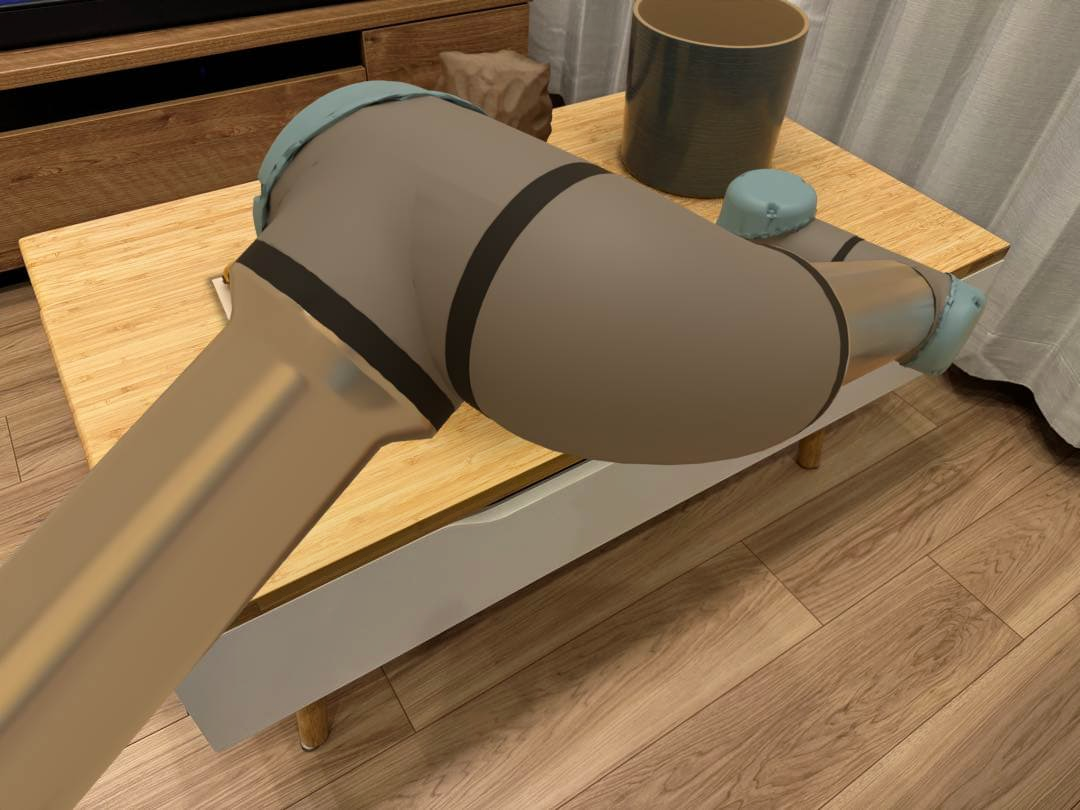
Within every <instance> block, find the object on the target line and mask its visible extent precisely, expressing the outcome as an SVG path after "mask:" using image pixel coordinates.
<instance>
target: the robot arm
mask: <svg viewBox="0 0 1080 810" xmlns="http://www.w3.org/2000/svg"><path fill="white" fill-rule="evenodd" d="M257 180H258V181H259V184H260V194H259V195H254V197H253V200H252V201H253V202H252V213H251V214H252V219H253V224H254V230H255V235H256V238H255V239H254V241H252V242H251V244H250V245H249V246H248V247H247V248H246V249H245V250H244V251H243V252H242V253H241V254H240V255H239V256H238V258H236V260H234V261H232V262H233V264H232V265H231V266H230V267H229V277H230V290H231V303H232V311H231V315H230V319H228V323H227V324H226V325H225V326H224V327H223V328H222V329H221V330H220V331H219V332H218V333H217V335H216V336H215V337H214V338H213V339H212V340H211V341H210V342H209V343H208V344H207V345H206V346H205V347H204V348H203V349H202V350H201V352H200V353H199V354H198V355H197V356H196V357H195V358H193V360H192V361H191V362H190V363H189V364H188V366H187V367H185V369H184V370H183V371H182V372H181V373H180V374H179V375H178V376H177V377H176V378H175V380H173V381H172V383H171V384H170V385H169V386H168V387H167V388H166V389H165V390H164V391H163V392H162V393H161V394H160V395H159V396H158V397H157V398H156V400H155V401H154V402H153V403H152V404H151V405H150V406H149V407H148V408H147V410H146V411H144V412H143V414H142V415H141V416H140V417H139V418H138V419H137V420H136V421H135V422H134V423H133V424H132V425H131V427H129V429H128V430H126V432H125V433H124V434H123V435H122V436H121V437H120V438H119V439H118V440H117V441H116V443H114V445H112V447H111V448H110V449H109V450H107V452H106V453H105V454H104V455H103V456H102V458H100V460H99V461H97V463H96V464H94V466H93V467H92V468H91V469H90V470H89V471H88V472H87V473H86V474H85V476H84V477H83V478H82V479H81V480H80V481H79V482H78V483H77V484H76V485H75V486H74V487H73V489H71V491H70V492H69V493H67V495H66V496H65V497H64V498H63V499H62V500H61V501H60V502H59V503H58V504H57V505H56V506H55V508H53V510H52V511H51V512H50V513H49V514H48V515H47V516H46V517H45V518H44V520H43V521H42V522H40V524H39V525H38V526H37V527H36V528H35V529H34V530H33V531H32V532H31V533H30V534H29V535H28V537H27V538H26V539H25V540H24V541H23V542H22V543H21V544H20V545H19V546H18V547H17V549H15V551H14V552H12V554H10V556H9V557H8V558H7V559H6V560H5V561H4V562H3V563H2V564H1V565H0V810H74V809H75V808H76V807H77V806H78V804H79V803H80V802H81V801H82V800H83V799H84V797H85V796H86V795H87V794H88V793H89V791H90V790H91V789H92V788H93V787H94V785H95V784H96V783H97V782H98V781H99V779H100V778H101V777H102V776H103V775H104V774H105V773H106V771H107V770H108V769H109V768H110V767H111V765H112V764H113V763H114V762H115V760H116V759H117V758H118V757H119V756H120V755H121V754H122V752H123V751H124V750H125V749H126V748H127V747H128V745H129V744H130V743H131V742H132V741H133V740H134V739H135V737H136V736H137V735H138V734H139V732H140V731H141V730H142V729H143V728H144V727H145V726H146V724H147V723H148V722H149V721H150V720H151V719H152V718H153V716H154V715H155V714H156V712H157V711H158V710H159V709H160V708H161V706H163V704H164V703H165V702H166V701H167V700H168V698H169V697H170V696H171V695H172V694H173V693H174V691H175V690H176V689H178V687H179V686H180V685H181V684H182V682H183V681H184V680H185V678H186V677H187V676H188V675H189V674H190V673H191V671H193V669H195V667H196V666H197V664H198V663H199V662H200V661H201V660H202V659H203V657H204V656H205V655H206V654H207V653H208V651H210V649H211V648H212V647H213V646H214V645H215V643H216V642H217V641H218V640H219V638H221V636H222V635H223V634H224V633H225V632H226V630H227V629H228V628H229V627H230V626H231V625H232V623H233V622H234V621H235V620H236V619H237V618H238V616H239V615H240V614H241V613H242V612H243V610H245V608H246V607H247V606H248V605H249V603H250V602H251V601H252V600H253V599H254V597H255V596H256V595H257V594H258V593H259V592H260V591H261V589H262V588H263V587H264V586H265V585H266V584H267V582H268V581H269V580H270V579H271V578H272V576H274V574H275V573H276V572H277V571H278V569H280V567H281V566H282V565H283V563H284V562H285V561H286V560H287V559H288V558H289V556H290V555H291V554H292V553H293V552H294V551H295V549H296V548H297V547H298V546H299V545H300V544H301V543H302V541H303V540H304V539H305V538H306V537H307V536H308V534H310V532H311V531H312V530H313V528H314V527H315V526H317V524H318V523H319V521H320V520H321V519H323V516H324V515H325V514H326V513H327V512H328V511H329V509H331V507H332V506H333V505H334V504H335V503H336V502H337V500H338V499H339V498H340V497H341V495H342V494H343V493H344V492H345V491H346V490H347V488H348V487H349V486H350V485H351V484H352V483H353V482H354V480H355V479H356V478H357V476H359V474H360V473H362V471H363V470H364V469H365V468H366V466H367V465H368V464H369V463H370V461H372V459H373V458H374V457H375V456H376V455H377V453H378V452H379V451H380V450H381V449H382V448H383V447H385V446H388V445H390V444H392V443H403V442H413V441H421V440H422V441H423V440H431V439H433V438H434V437H435V436H436V435H437V434H438V432H439V431H440V430H441V428H443V426H444V425H445V424H446V423H447V421H448V420H449V419H450V418H451V416H453V414H454V413H455V412H456V411H457V410H458V409H459V408H460V407H461V405H463V403H465V404H467V405H469V406H470V407H471V408H473V409H474V410H476V411H477V412H479V413H480V414H481V415H483V416H485V417H486V418H487V419H490V420H491V421H493V422H494V423H496V424H497V425H498V426H499V427H501V428H502V429H504V430H505V431H506V432H509V433H511V434H513V435H515V436H516V437H518V438H520V439H521V440H524V441H527V442H529V443H531V444H534V445H537V446H539V447H542V448H543V449H547V450H550V451H552V452H556V453H561V454H564V455H569V456H573V457H575V458H580V459H581V458H582V459H584V460H592V461H597V462H598V461H599V462H606V463H615V464H624V465H651V466H683V465H700V464H702V465H703V464H707V463H713V462H714V463H715V462H720V461H728V460H733V459H735V460H736V459H739V458H742V457H747V456H750V455H753V454H758V453H760V452H764V451H766V450H769V449H771V448H773V447H776V446H778V445H780V444H782V443H784V442H787V441H788V440H790V439H792V438H793V437H795V436H797V435H798V434H800V433H801V432H803V431H805V430H806V429H807V428H809V427H811V426H812V425H814V423H816V422H817V421H818V420H819V419H820V418H821V417H822V416H823V415H824V414H825V413H826V412H827V410H829V408H830V407H831V406H832V404H833V403H834V401H835V399H836V398H837V397H838V395H839V393H840V391H841V389H842V387H844V386H846V385H848V384H850V383H852V382H854V381H856V380H858V379H859V378H862V377H864V376H866V375H868V374H869V373H871V372H874V371H875V370H877V369H880V368H881V367H883V366H885V365H888V364H890V363H892V362H893V361H894V362H897V363H898V364H899V366H901V367H903V368H904V369H905V368H908V369H911V370H914V371H916V372H918V373H921V374H923V375H926V376H931V377H937V376H940V375H942V374H943V373H945V372H946V371H947V370H948V369H949V367H950V366H951V365H952V364H953V362H955V360H956V358H957V357H958V355H960V352H961V351H962V349H963V348H964V346H965V345H966V343H967V342H968V340H969V338H970V337H971V335H972V334H973V332H974V330H975V328H976V327H977V325H978V323H979V322H980V320H981V317H982V315H984V311H985V309H986V306H987V297H986V295H985V293H984V291H982V290H981V289H980V288H979V287H976V286H974V285H972V284H969V283H968V282H966V281H964V280H961V279H959V278H957V276H956V275H954V274H953V273H950V272H947V271H945V272H943V271H941V270H938V269H936V268H934V267H931V266H928V265H926V264H924V263H921V262H919V261H917V260H915V259H912V258H909V257H908V256H905V255H902V254H900V253H898V252H895V251H893V250H890V249H887V248H886V247H883V246H881V245H878V244H875V243H873V242H871V241H868V240H866V239H865V238H862V237H859V235H857V234H854V233H853V232H850V231H847V230H845V229H843V228H841V227H839V226H835V225H834V224H831V223H829V222H826V221H824V220H821V219H819V218H816V215H817V212H818V210H817V206H818V195H817V191H816V189H815V188H814V187H813V186H812V184H810V183H807V182H806V181H805V178H803V177H802V176H800V175H798V174H795V173H794V172H793V173H792V172H789V171H786V170H781V169H777V168H776V169H773V168H769V169H758V170H752V171H748V172H746V173H744V174H742V175H740V176H739V177H737V178H735V179H734V180H733V181H732V182H731V183H730V184H729V186H728V188H727V191H726V194H725V197H723V200H722V205H721V208H720V211H719V215H718V217H717V219H716V222H713V221H710V220H709V219H707V218H705V217H703V216H702V215H700V214H697V213H695V212H694V211H692V210H691V209H689V208H687V207H685V206H683V205H681V204H679V203H678V202H675V201H673V200H672V199H670V198H668V197H666V196H664V195H662V194H661V193H659V192H657V191H655V190H653V189H651V188H649V187H647V186H646V185H644V184H642V183H640V182H637V181H636V180H634V179H631V178H628V177H626V176H624V175H621V174H617V173H615V172H612V171H610V170H608V169H605V168H604V167H602V166H600V165H598V164H596V163H594V162H592V161H589V160H587V159H585V158H583V157H580V156H579V155H576V154H573V153H572V152H569V151H567V150H564V149H562V148H561V147H558V146H555V145H553V144H551V143H549V142H547V143H546V142H544V141H542V140H540V139H537V138H535V137H533V136H531V135H528V134H526V133H524V132H522V131H519V130H517V129H515V128H513V127H510V126H508V125H506V124H503V123H501V122H499V121H497V120H494V119H492V117H491V116H490V115H488V114H487V113H486V112H485V111H483V110H482V109H481V108H479V107H477V106H475V105H473V104H472V103H470V102H468V101H465V100H463V99H460V98H458V97H457V96H454V95H450V94H447V93H443V92H438V91H433V90H428V89H425V88H422V87H420V86H417V85H414V84H411V83H408V82H407V83H406V82H404V81H403V82H402V81H396V80H395V81H394V80H393V81H392V80H383V79H382V80H368V81H362V82H356V83H352V84H347V85H345V86H343V87H339V88H337V89H335V90H332V91H330V92H328V93H326V94H324V95H323V96H321V97H319V98H317V99H316V100H314V101H313V102H311V103H310V104H308V105H307V106H306V107H304V108H303V109H302V110H301V111H299V113H297V114H296V115H295V116H294V117H293V118H292V119H291V120H290V121H289V122H288V123H287V124H286V125H285V127H284V128H283V129H281V130H280V132H279V134H278V135H277V136H276V138H275V139H274V141H273V142H272V144H271V146H270V148H269V149H268V151H267V152H266V155H265V156H264V158H263V161H262V163H261V165H260V168H259V170H258V173H257Z"/></svg>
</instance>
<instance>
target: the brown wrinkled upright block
mask: <svg viewBox="0 0 1080 810" xmlns="http://www.w3.org/2000/svg"><path fill="white" fill-rule="evenodd" d="M437 59H438V63H439V66H440V67H441V68H440V69H441V71H440V75H439V78H438V80H437V83H436V84H435V86H434V88H433V90H432V91H438V92H443V93H447V94H450V95H454V96H457V97H458V98H460V99H463V100H465V101H468V102H470V103H472V104H473V105H475V106H477V107H479V108H481V109H482V110H483V111H485V112H486V113H487V114H488V115H490V116H491V117H492V119H494V120H497V121H499V122H501V123H503V124H506V125H508V126H510V127H513V128H515V129H517V130H519V131H522V132H524V133H526V134H528V135H531V136H533V137H535V138H537V139H540V140H542V141H544V142H546V143H548V140H549V138H550V136H551V134H552V132H553V127H552V125H551V124H552V122H553V110H554V109H553V102H552V99H551V96H550V94H549V93H550V92H549V84H550V78H551V62H548V61H546V62H539V61H535V60H533V59H531V58H528V57H526V56H525V55H522V54H521V53H518V52H517V51H515V50H510V49H501V50H500V51H498V52H495V53H494V52H493V53H491V52H480V53H464V52H463V51H457V50H453V51H451V50H449V51H441V52H440V53H439V54H438V56H437Z"/></svg>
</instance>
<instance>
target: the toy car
mask: <svg viewBox="0 0 1080 810" xmlns="http://www.w3.org/2000/svg"><path fill="white" fill-rule="evenodd" d="M233 262H234V261H232V262H229V263H228V264H227V265H226V266H225V267H224V269H223V272H222V276H221V277H218V278H217V277H216V278H213V279H211V282H212V284H213V286H214V289H215V291H216V294H217V296H218V299H219V300H220V303H221V305H222V309H223V310H224V313H225V314H226V317H227V319H228V320H229V319H230V315H231V311H232V303H231V290H230V277H229V267H230V266H231V265H232V264H233Z"/></svg>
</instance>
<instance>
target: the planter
mask: <svg viewBox="0 0 1080 810" xmlns="http://www.w3.org/2000/svg"><path fill="white" fill-rule="evenodd" d="M810 21H811V20H810V18H809V16H808V15H807V13H806V12H805V11H804V10H802V9H801V8H800V7H798V6H797V5H796V4H794V3H792V2H791V1H788V0H635V2H634V4H633V6H632V13H631V23H630V35H629V43H628V44H629V45H628V56H627V67H626V80H625V91H624V93H625V95H624V107H623V122H622V134H621V146H620V157H621V160H622V164H623V165H624V167H625V168H626V169H627V171H628V172H629V173H630V174H631V175H632V176H633V177H635V178H636V179H638V181H641V183H643V184H645V185H648V186H650V187H651V188H654V189H657V190H659V191H663V192H665V193H669V194H673V195H678V196H681V197H682V196H683V197H689V198H698V199H699V198H701V199H709V198H710V199H715V198H716V199H717V198H724V197H725V194H726V191H727V188H728V186H729V184H730V183H731V182H732V181H733V180H734V179H735V178H737V177H739V176H740V175H742V174H744V173H746V172H748V171H752V170H758V169H771V164H772V160H773V158H774V154H775V150H776V147H777V143H778V141H779V137H780V133H781V130H782V127H783V124H784V121H785V117H786V113H787V110H788V106H789V103H790V100H791V97H792V93H793V89H794V86H795V82H796V78H797V74H798V71H799V68H800V65H801V61H802V57H803V53H804V50H805V46H806V42H807V39H808V34H809V31H810V27H811V22H810Z"/></svg>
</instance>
